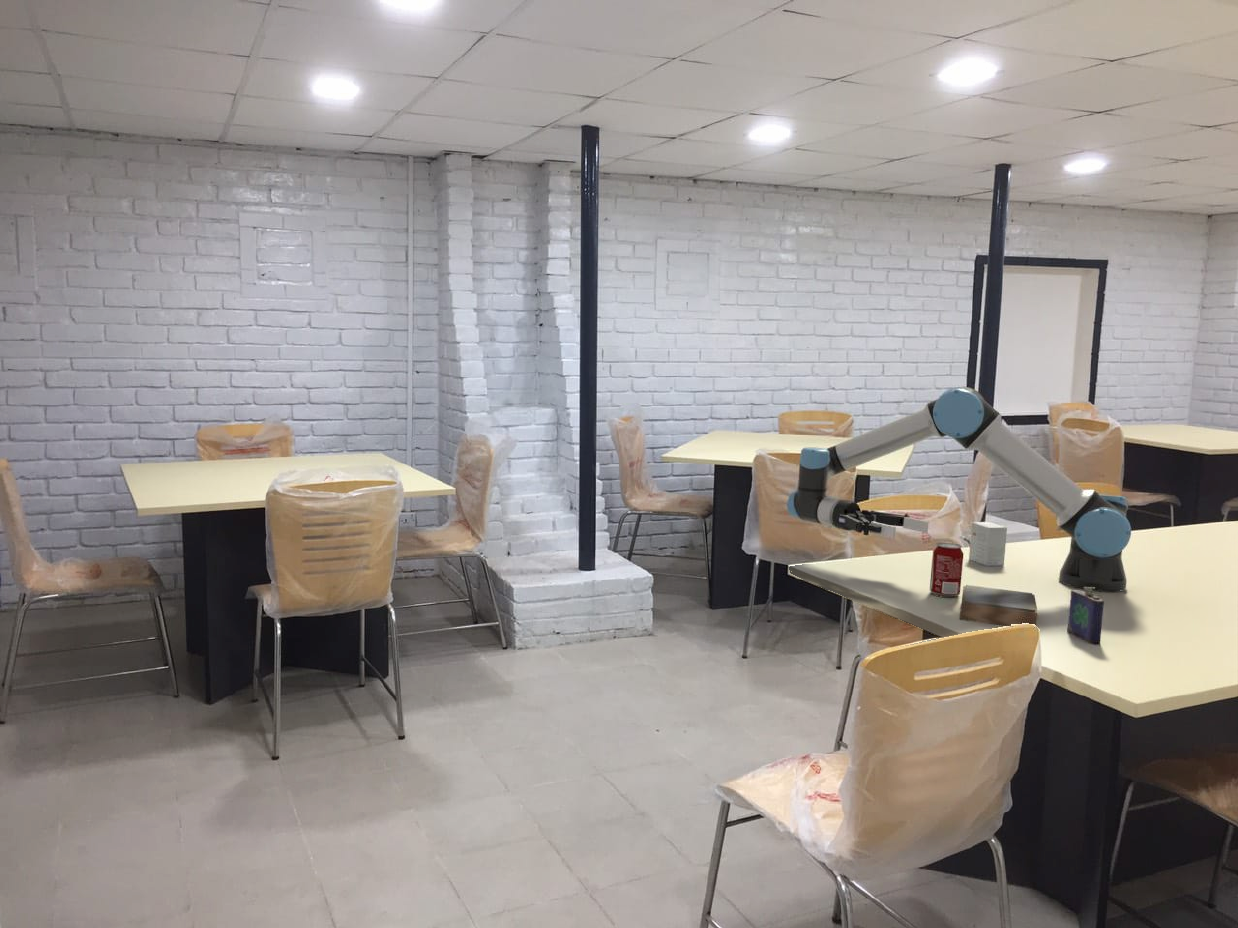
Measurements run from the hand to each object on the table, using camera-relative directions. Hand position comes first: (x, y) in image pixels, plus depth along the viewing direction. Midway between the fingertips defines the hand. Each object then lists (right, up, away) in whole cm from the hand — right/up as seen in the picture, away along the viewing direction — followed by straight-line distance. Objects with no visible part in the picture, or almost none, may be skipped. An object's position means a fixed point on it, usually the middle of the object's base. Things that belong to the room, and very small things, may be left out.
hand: (911, 529), depth 233 cm
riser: (+13, -17, -21) cm, 30 cm away
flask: (+25, -20, -35) cm, 47 cm away
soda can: (+6, -15, -6) cm, 17 cm away
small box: (+29, -11, +30) cm, 43 cm away
